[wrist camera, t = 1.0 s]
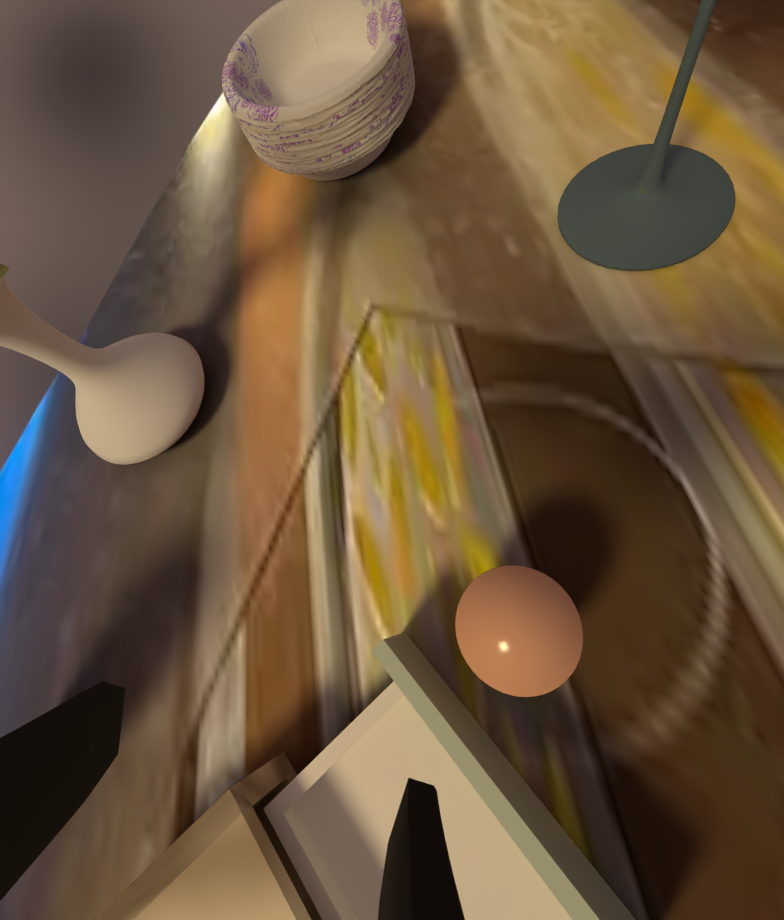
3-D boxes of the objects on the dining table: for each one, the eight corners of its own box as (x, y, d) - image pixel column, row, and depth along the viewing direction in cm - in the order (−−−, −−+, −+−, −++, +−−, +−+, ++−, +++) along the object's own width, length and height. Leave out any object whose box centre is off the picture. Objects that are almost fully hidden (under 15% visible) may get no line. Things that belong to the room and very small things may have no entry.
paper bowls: (459, 118, 36) (446, -2, 29) (327, 234, 36) (281, 143, 29) (357, 63, 43) (325, -47, 35) (244, 163, 42) (188, 73, 35)
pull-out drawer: (655, 943, 18) (698, 1048, 14) (482, 1119, 18) (473, 1280, 14) (405, 632, 25) (383, 639, 20) (275, 758, 24) (226, 792, 20)
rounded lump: (603, 632, 19) (611, 635, 18) (519, 715, 19) (519, 726, 18) (513, 545, 21) (513, 541, 20) (437, 619, 21) (431, 621, 20)
